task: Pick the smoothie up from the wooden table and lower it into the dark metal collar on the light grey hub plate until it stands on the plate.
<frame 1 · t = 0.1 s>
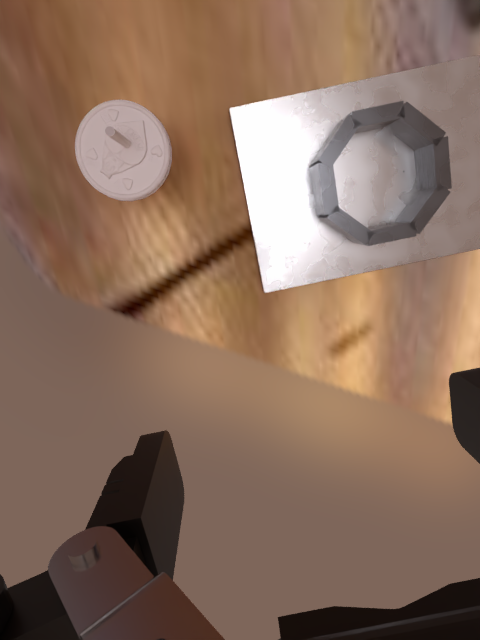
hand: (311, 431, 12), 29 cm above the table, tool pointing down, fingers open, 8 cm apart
hub plate: (365, 181, 38), on the table
smoothie: (148, 167, 37), on the table
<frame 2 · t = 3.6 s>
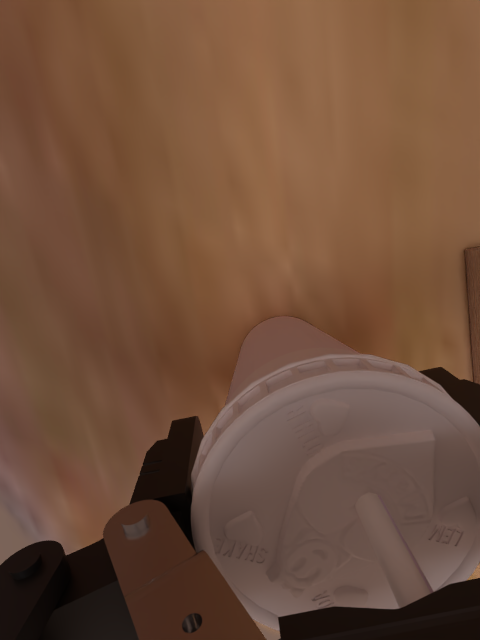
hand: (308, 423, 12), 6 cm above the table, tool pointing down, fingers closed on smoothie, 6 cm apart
smoothie: (282, 357, 18), on the table, touching gripper
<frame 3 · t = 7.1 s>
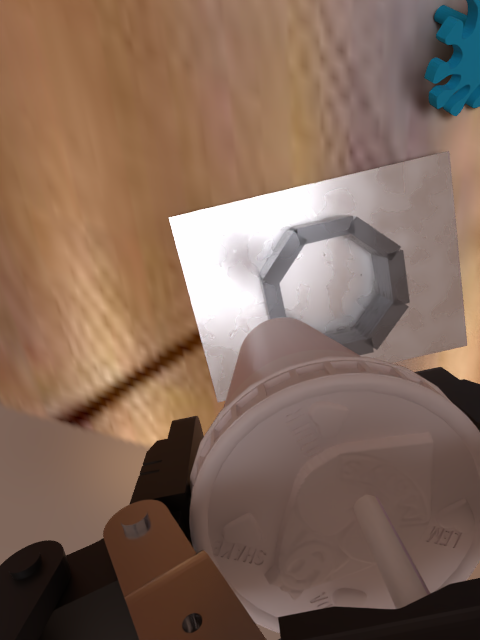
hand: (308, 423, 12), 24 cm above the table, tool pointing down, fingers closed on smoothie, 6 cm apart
gear: (465, 54, 32), on the table
hub plate: (321, 281, 35), on the table
smoothie: (281, 358, 18), point 18 cm above the table, touching gripper
when the fingers open (9 cm above the table, at t = 10.8 s): smoothie drops 1 cm, resting on hub plate.
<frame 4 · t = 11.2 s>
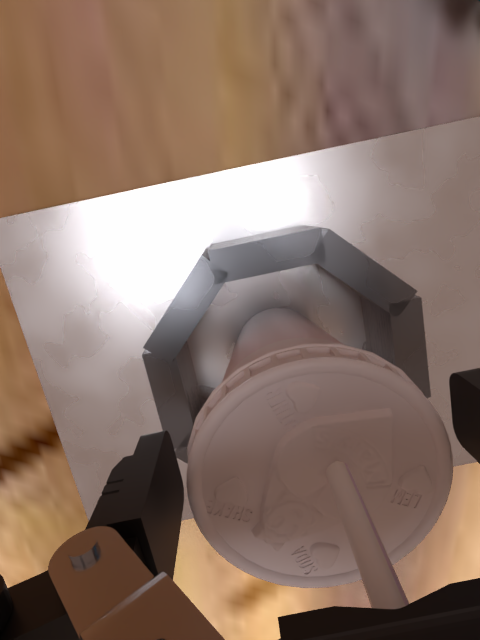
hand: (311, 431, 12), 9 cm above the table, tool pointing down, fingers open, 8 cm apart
hub plate: (274, 338, 21), on the table
smoothie: (276, 345, 19), point 1 cm above the table, touching hub plate
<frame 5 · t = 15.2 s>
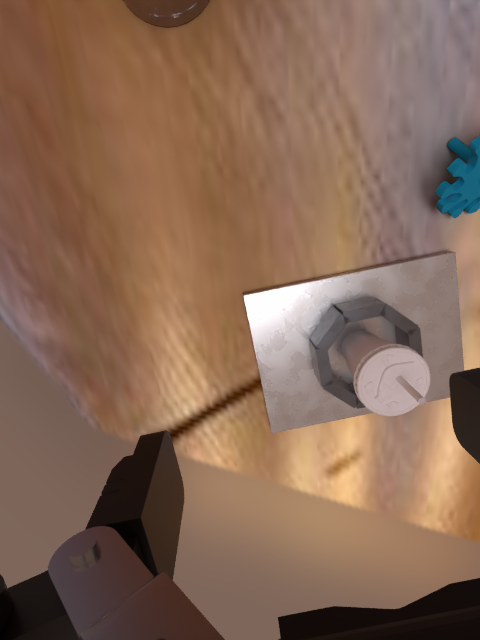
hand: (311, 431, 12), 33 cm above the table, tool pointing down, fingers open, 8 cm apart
gear: (467, 172, 42), on the table
hub plate: (354, 342, 46), on the table
smoothie: (358, 346, 45), point 1 cm above the table, touching hub plate
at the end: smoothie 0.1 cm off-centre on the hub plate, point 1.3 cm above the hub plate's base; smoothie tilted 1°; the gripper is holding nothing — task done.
